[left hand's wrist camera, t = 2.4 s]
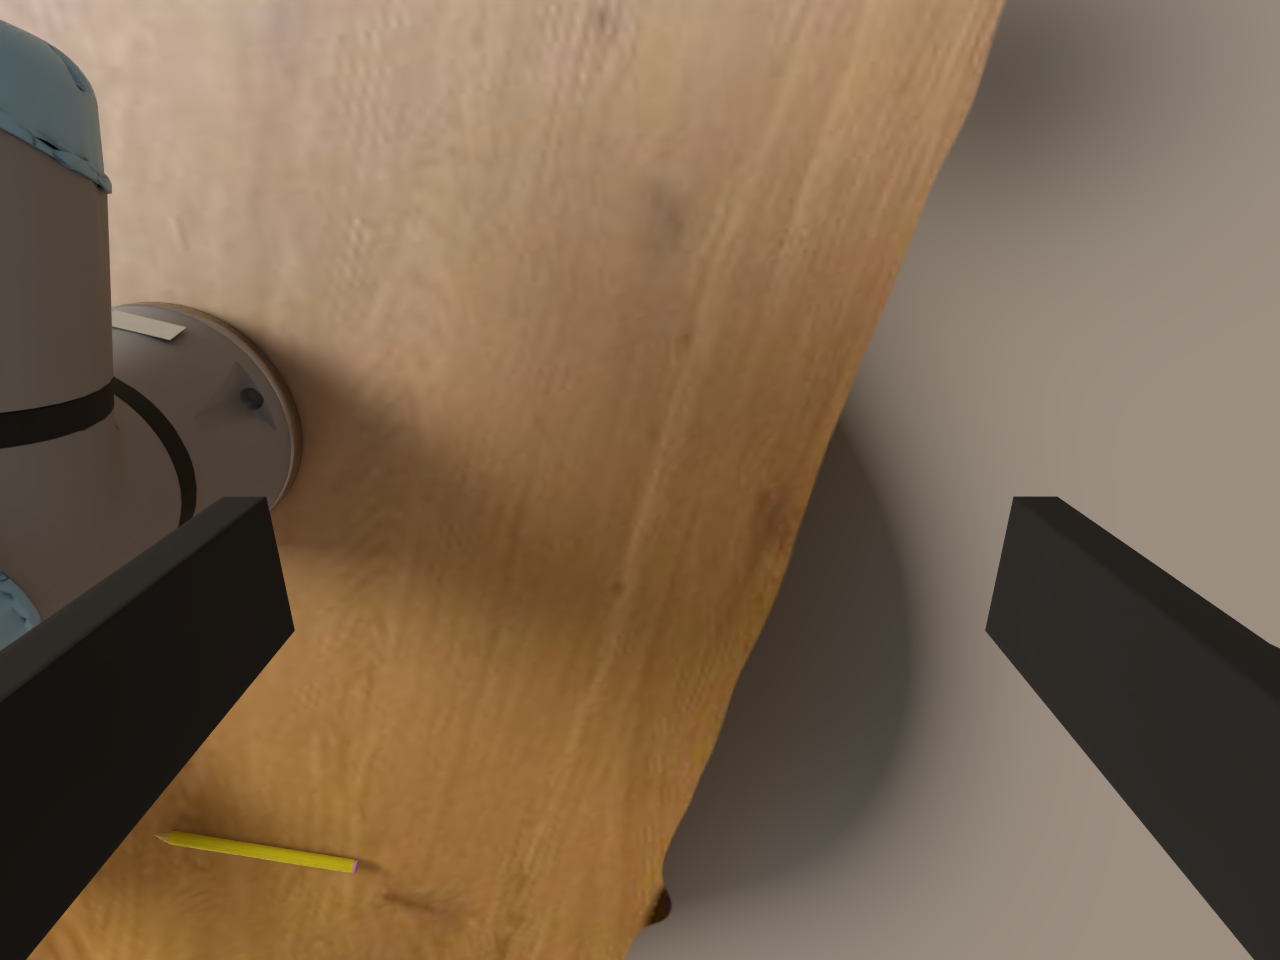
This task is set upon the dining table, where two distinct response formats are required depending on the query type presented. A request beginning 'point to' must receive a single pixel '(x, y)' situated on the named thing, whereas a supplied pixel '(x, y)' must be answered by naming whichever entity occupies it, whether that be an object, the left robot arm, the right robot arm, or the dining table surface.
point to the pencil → (259, 851)
